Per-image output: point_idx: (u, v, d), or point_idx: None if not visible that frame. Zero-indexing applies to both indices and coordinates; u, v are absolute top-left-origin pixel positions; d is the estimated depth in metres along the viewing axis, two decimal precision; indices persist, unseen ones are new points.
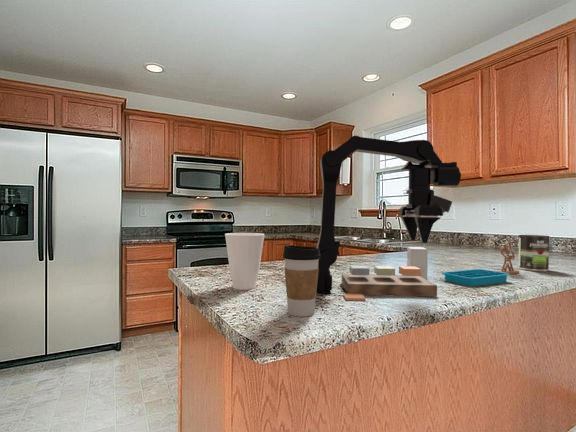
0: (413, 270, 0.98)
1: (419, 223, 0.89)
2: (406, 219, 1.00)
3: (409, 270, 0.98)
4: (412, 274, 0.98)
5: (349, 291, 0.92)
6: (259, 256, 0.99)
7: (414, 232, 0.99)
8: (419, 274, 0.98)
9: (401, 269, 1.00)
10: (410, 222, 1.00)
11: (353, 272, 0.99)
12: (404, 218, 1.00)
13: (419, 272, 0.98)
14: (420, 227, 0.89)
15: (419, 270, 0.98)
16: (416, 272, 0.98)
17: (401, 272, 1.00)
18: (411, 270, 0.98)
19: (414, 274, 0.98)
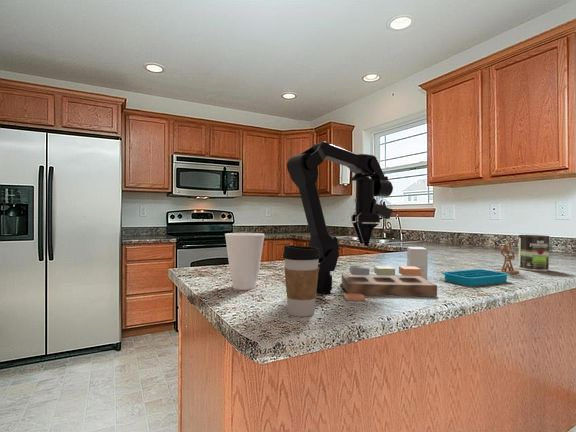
0: (413, 270, 0.98)
1: (360, 228, 1.00)
2: (356, 224, 1.12)
3: (409, 270, 0.98)
4: (412, 274, 0.98)
5: (349, 291, 0.92)
6: (259, 256, 0.99)
7: None
8: (419, 274, 0.98)
9: (401, 269, 1.00)
10: None
11: (353, 272, 0.99)
12: (354, 224, 1.12)
13: (419, 272, 0.98)
14: (361, 232, 1.01)
15: (419, 270, 0.98)
16: (416, 272, 0.98)
17: (401, 272, 1.00)
18: (411, 270, 0.98)
19: (414, 274, 0.98)
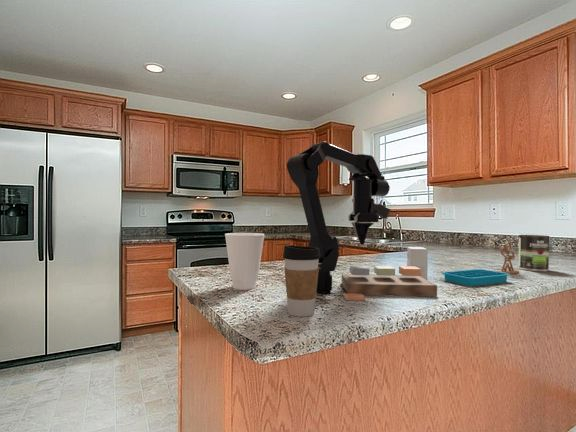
0: (413, 270, 0.98)
1: (356, 228, 1.05)
2: None
3: (409, 270, 0.98)
4: (412, 274, 0.98)
5: (349, 291, 0.92)
6: (259, 256, 0.99)
7: None
8: (419, 274, 0.98)
9: (401, 269, 1.00)
10: None
11: (353, 272, 0.99)
12: (354, 224, 1.08)
13: (419, 272, 0.98)
14: (357, 231, 1.06)
15: (419, 270, 0.98)
16: (416, 272, 0.98)
17: (401, 272, 1.00)
18: (411, 270, 0.98)
19: (414, 274, 0.98)
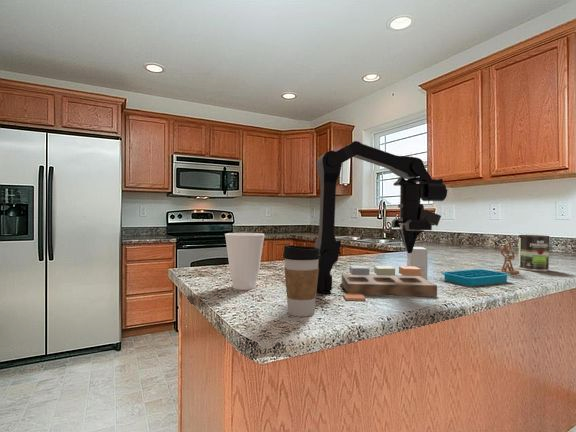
0: (413, 270, 0.98)
1: (404, 235, 0.98)
2: None
3: (409, 270, 0.98)
4: (412, 274, 0.98)
5: (349, 291, 0.92)
6: (259, 256, 0.99)
7: None
8: (419, 274, 0.98)
9: (401, 269, 1.00)
10: None
11: (353, 272, 0.99)
12: (400, 231, 1.01)
13: (419, 272, 0.98)
14: (405, 239, 0.99)
15: (419, 270, 0.98)
16: (416, 272, 0.98)
17: (401, 272, 1.00)
18: (411, 270, 0.98)
19: (414, 274, 0.98)
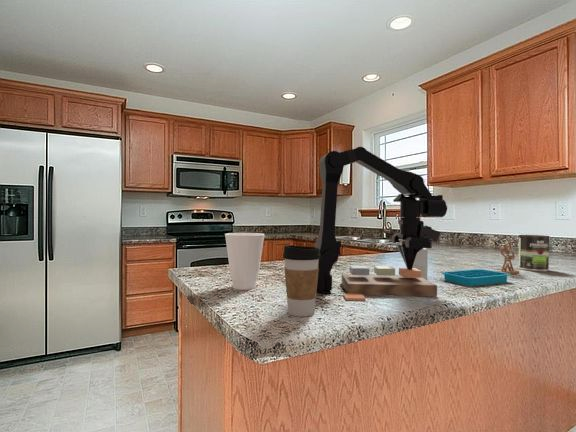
0: (413, 272, 0.98)
1: (404, 252, 0.98)
2: None
3: (409, 272, 0.98)
4: (412, 276, 0.98)
5: (349, 291, 0.92)
6: (259, 256, 0.99)
7: None
8: (419, 276, 0.98)
9: (401, 271, 1.00)
10: None
11: (353, 272, 0.99)
12: (400, 247, 1.01)
13: (419, 274, 0.98)
14: (405, 255, 0.99)
15: (419, 272, 0.98)
16: (416, 274, 0.98)
17: (401, 274, 1.00)
18: (411, 272, 0.98)
19: (414, 276, 0.98)
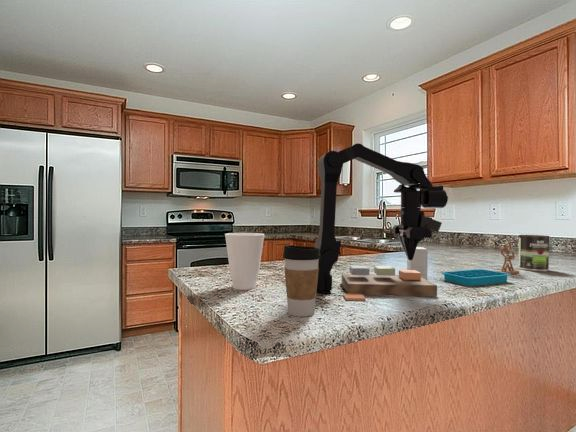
0: (413, 274, 0.98)
1: (405, 242, 0.98)
2: None
3: (409, 274, 0.98)
4: (412, 278, 0.98)
5: (349, 291, 0.92)
6: (259, 256, 0.99)
7: None
8: (419, 278, 0.98)
9: (401, 273, 1.00)
10: None
11: (353, 272, 0.99)
12: (401, 238, 1.01)
13: (419, 276, 0.98)
14: (406, 246, 0.99)
15: (419, 274, 0.98)
16: (416, 276, 0.98)
17: (401, 276, 1.00)
18: (411, 274, 0.98)
19: (414, 278, 0.98)
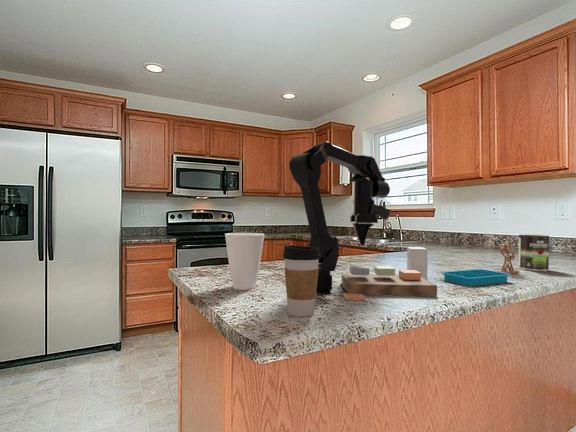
0: (413, 274, 0.98)
1: (356, 228, 1.06)
2: None
3: (409, 274, 0.98)
4: (412, 278, 0.98)
5: (349, 291, 0.92)
6: (259, 256, 0.99)
7: None
8: (419, 278, 0.98)
9: (401, 273, 1.00)
10: None
11: (353, 272, 0.99)
12: (354, 224, 1.09)
13: (419, 276, 0.98)
14: (357, 232, 1.06)
15: (419, 274, 0.98)
16: (416, 276, 0.98)
17: (401, 276, 1.00)
18: (411, 274, 0.98)
19: (414, 278, 0.98)
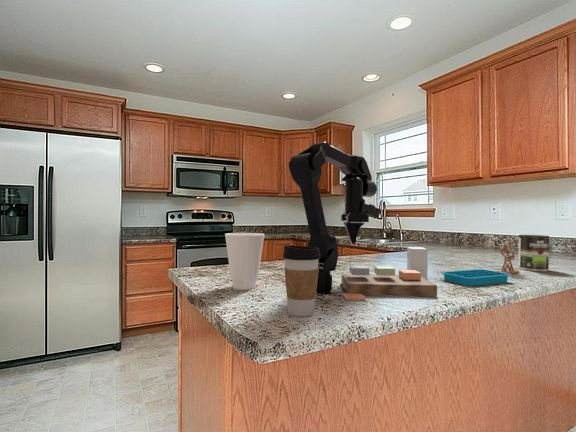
0: (413, 274, 0.98)
1: (348, 227, 1.07)
2: None
3: (409, 274, 0.98)
4: (412, 278, 0.98)
5: (349, 291, 0.92)
6: (259, 256, 0.99)
7: None
8: (419, 278, 0.98)
9: (401, 273, 1.00)
10: None
11: (353, 272, 0.99)
12: (345, 224, 1.10)
13: (419, 276, 0.98)
14: (349, 231, 1.08)
15: (419, 274, 0.98)
16: (416, 276, 0.98)
17: (401, 276, 1.00)
18: (411, 274, 0.98)
19: (414, 278, 0.98)
